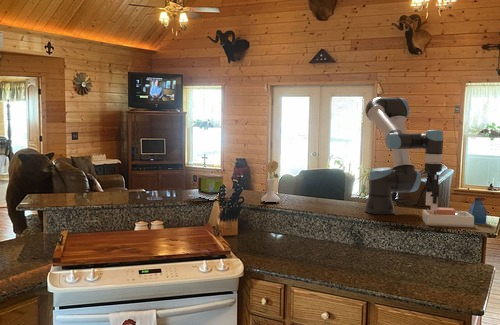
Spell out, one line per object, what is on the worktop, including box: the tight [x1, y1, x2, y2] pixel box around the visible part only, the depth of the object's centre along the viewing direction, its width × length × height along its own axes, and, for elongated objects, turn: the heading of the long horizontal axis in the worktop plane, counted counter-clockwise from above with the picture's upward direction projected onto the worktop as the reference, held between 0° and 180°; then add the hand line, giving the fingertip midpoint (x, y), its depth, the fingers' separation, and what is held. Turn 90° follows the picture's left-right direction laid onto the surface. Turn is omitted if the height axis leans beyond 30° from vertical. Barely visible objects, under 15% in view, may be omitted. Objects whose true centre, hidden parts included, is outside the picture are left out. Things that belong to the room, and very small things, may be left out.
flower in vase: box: [260, 160, 281, 203], centre depth 275 cm, size 13×11×25 cm
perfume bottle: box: [468, 196, 488, 225], centre depth 225 cm, size 6×6×12 cm
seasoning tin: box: [434, 206, 457, 215], centre depth 222 cm, size 6×6×8 cm
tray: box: [422, 209, 475, 228], centre depth 222 cm, size 13×20×5 cm, turn 79°
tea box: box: [197, 173, 224, 197], centre depth 289 cm, size 15×10×15 cm, turn 32°
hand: (431, 207), depth 223 cm, fingers open, 13 cm apart
